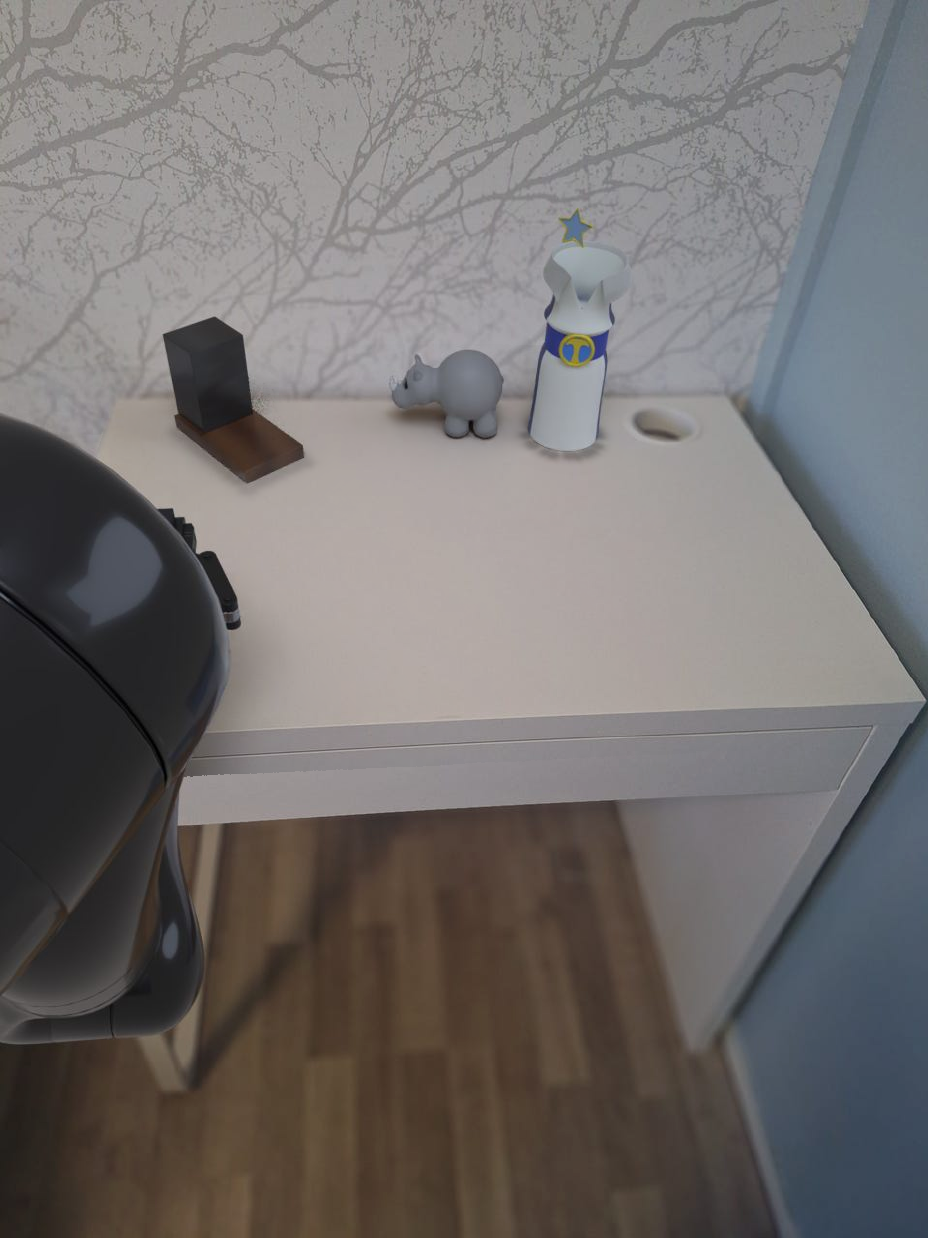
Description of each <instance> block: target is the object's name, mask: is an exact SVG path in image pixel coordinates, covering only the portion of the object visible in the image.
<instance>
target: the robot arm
mask: <svg viewBox="0 0 928 1238" xmlns="http://www.w3.org/2000/svg"><path fill="white" fill-rule="evenodd" d="M157 509H158V508H157V507H156V506H155V505H154V504H153V503H152V502H151V501H150V500H149V499H148V498H147V497H146V496H144V495H143V494H142V493H141V492H140V491H139V490H137V489H136V488H135V487H134V486H133V485H132V484H130V483H129V482H128V481H127V480H125V478H123V477H122V476H121V475H120V474H119V473H118V472H116V471H115V470H114V469H113V468H111V467H109V466H108V465H107V464H105V463H104V462H102V461H101V460H99V459H98V458H96V457H95V456H93V455H92V454H90V453H89V452H87V451H86V450H84V449H83V448H81V447H80V446H78V445H77V444H75V443H73V442H72V441H70V440H68V439H66V438H64V437H62V436H60V435H59V434H56V433H55V432H52V431H50V430H49V429H46V428H44V427H41V426H40V425H36V424H34V423H31V422H27V421H26V420H22V419H20V418H17V417H15V416H11V415H8V414H6V413H2V412H0V1043H2V1044H8V1045H40V1044H53V1043H67V1042H68V1043H69V1042H82V1041H83V1042H85V1041H96V1040H97V1041H98V1040H110V1039H111V1040H112V1039H113V1038H115V1039H131V1038H144V1037H152V1036H156V1035H160V1034H164V1033H167V1032H168V1031H171V1030H172V1029H173V1028H175V1027H176V1026H177V1025H178V1024H180V1023H181V1022H182V1021H183V1020H184V1018H185V1017H186V1016H187V1015H188V1013H189V1012H190V1011H191V1009H192V1007H193V1006H194V1005H195V1003H196V1001H197V999H198V997H199V994H200V991H201V988H202V985H203V981H204V975H205V948H204V946H205V945H204V941H203V936H202V931H201V927H200V921H199V919H198V918H199V917H198V915H197V911H196V907H195V904H194V901H193V898H192V894H191V891H190V888H189V885H188V881H187V878H186V874H185V869H184V864H183V859H182V854H181V849H180V842H179V841H180V840H179V803H180V791H181V787H182V784H183V782H184V781H183V780H184V778H185V775H186V772H187V769H188V767H189V764H190V761H191V760H192V758H193V756H194V754H195V752H196V751H197V749H198V748H199V746H200V744H201V742H202V740H203V738H204V737H205V735H206V733H207V731H208V728H209V726H210V724H211V723H212V720H213V718H214V716H215V714H216V712H217V710H218V708H219V705H220V704H221V702H222V699H223V696H224V694H225V691H226V688H227V685H228V681H229V676H230V671H231V647H230V635H229V631H235V630H238V629H240V627H241V626H242V620H241V614H240V613H241V612H240V607H239V600H238V597H237V594H236V592H235V590H234V588H233V586H232V584H231V581H230V580H229V578H228V575H227V573H226V572H225V570H224V568H223V566H222V564H221V561H220V559H219V558H218V555H217V554H216V552H215V551H213V550H204V551H202V552H201V553H197V544H198V541H197V536H196V530H195V526H194V524H193V523H192V522H186V521H187V520H186V517H185V516H175V523H174V527H173V526H172V525H171V524H170V523H169V521H168V520H167V519H166V518H165V517H164V516H163V515H162V514H161V513H160V512H159V511H158V510H157Z"/></svg>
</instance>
